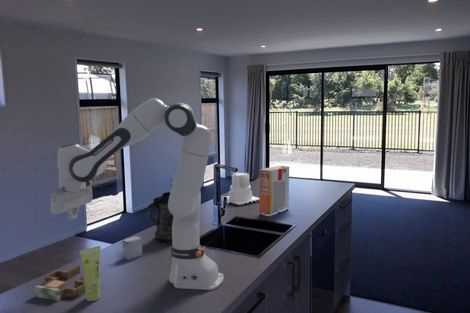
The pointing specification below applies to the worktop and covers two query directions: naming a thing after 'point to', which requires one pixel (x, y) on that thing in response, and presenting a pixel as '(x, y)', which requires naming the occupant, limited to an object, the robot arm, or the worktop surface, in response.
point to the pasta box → (274, 189)
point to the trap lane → (66, 291)
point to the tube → (91, 272)
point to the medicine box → (132, 247)
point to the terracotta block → (56, 284)
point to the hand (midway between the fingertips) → (73, 218)
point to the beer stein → (162, 218)
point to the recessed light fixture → (240, 189)
